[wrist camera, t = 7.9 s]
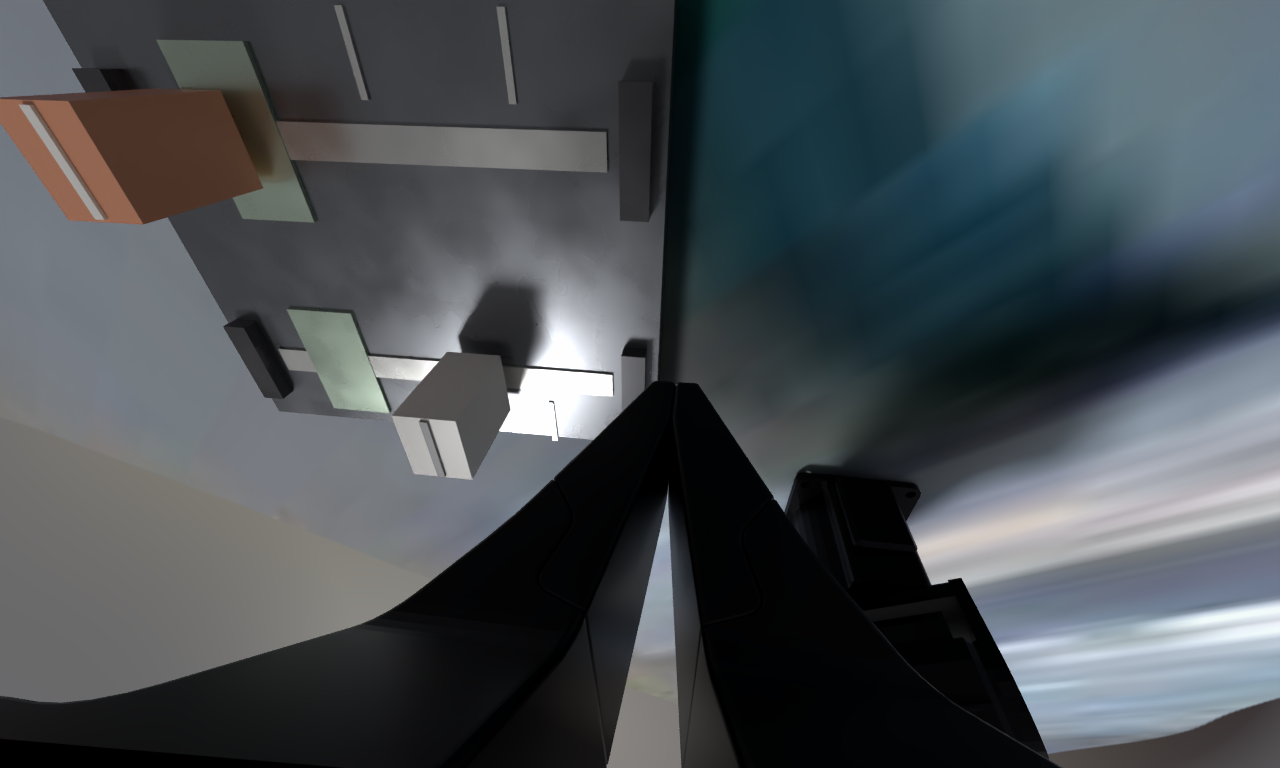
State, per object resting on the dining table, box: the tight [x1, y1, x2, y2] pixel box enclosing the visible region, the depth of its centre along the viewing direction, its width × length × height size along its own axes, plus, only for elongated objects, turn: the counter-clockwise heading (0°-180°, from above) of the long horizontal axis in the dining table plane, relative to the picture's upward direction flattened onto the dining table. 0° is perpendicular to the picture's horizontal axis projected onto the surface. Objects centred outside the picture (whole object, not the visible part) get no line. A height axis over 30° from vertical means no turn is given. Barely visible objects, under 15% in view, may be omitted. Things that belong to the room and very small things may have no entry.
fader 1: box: [0, 88, 263, 224], centre depth 14 cm, size 3×2×4 cm
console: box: [43, 0, 678, 441], centre depth 19 cm, size 17×20×3 cm
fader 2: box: [391, 352, 511, 480], centre depth 19 cm, size 3×2×4 cm
